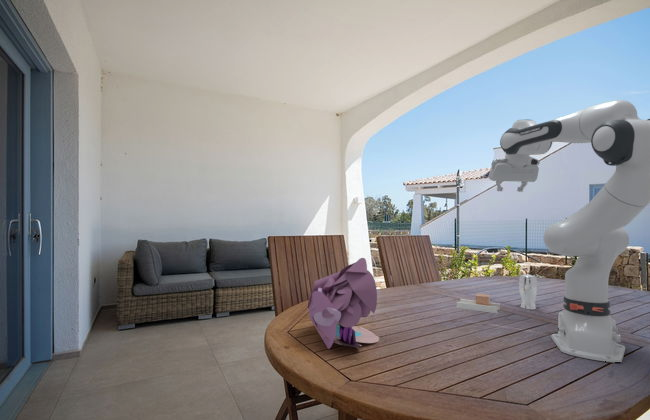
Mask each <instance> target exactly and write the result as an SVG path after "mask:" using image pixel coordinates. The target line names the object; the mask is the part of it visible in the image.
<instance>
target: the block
mask: <svg viewBox="0 0 650 420" xmlns="http://www.w3.org/2000/svg"><path fill="white" fill-rule="evenodd" d="M475 301H476V304H478V305H486V306H490V303H491V294H485V293H477V294H476V295H475Z"/></svg>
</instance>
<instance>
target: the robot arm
mask: <svg viewBox="0 0 650 420" xmlns="http://www.w3.org/2000/svg"><path fill="white" fill-rule="evenodd" d="M499 142H500V143H499V145H500V148H501V149H502V151H503V152H504V153H505V154H504V155H505V156H504V158H496V159H494V160H493V161H492V163H491V167H490V171H489V174H488V179H489V180H490V181H492V182H495V184H496V191H497V192H503V190H504V187H502V186H501V184H502V183H503V182H518V183H519V182H520V186H517V190H516V191H517V192H519V193H523V192H524V189H525V188H526V186H527V185H528V183H534V182H536V181H537V180H538V177H539V171H540V170H539V169H540V168H539V165H540V163H541V160H539V159H537V158H535V157H532V156H531V155H533V156H534V155H535V156H537V155H538V156H539V155H544V154H546V153H548V152H549V150H550V149H551V148H552V145H553V142H556V143H566V144H567V143H569V144H589V143H591V144H590V145H591V147H592V150H593V152H594V153H595V155H596V156H598V157H599V158H601V159H602V160H603V162H604V164H606V165H607V166H610V167H611V166H613V167H615V171H614V173H613V174H612V175H611V177H610V178H609V179H608V180H607V181H606V183H605V184H604V185H603V186H602V187H601V188H600V190H598V192H597V193H596V194H595V196H594V197H593V198H591V200H590V201H589V202H588V203H587V204H585V205H584V206H582V208H580V209H579V210H577V211H576V212H574V213H573V214H571V215H569V216H568V217H566V218H564V219H563V220H560V221H559V222H556V223H553V224H550V225H548V227H546V229H545V231H544V234H543V243H544V246H545V247H546V248H547V250H548V251H549V252H551V253H553V254H556V255H561V256H566V257H578V258H577V260H576V262H575V264H574V265H573V266H572V267H571V268H569V269H567V271H566V272H565V274H564V296H563V300H562V303H563V304H562V306H563V308H564V309H563V310H561V311H560V312H559V313H558V316H557V317H558V318H557V319H558V320H557V321H558V322H557V324H558V325H557V333H552V334H551V336H550V338H551V340H552V341H553V342H554V344H555V345H556V346H557V348H558V349H559V351H560V352H562V353H563V354H567V355H570V356H573V357H577V358H582V359H587V360H591V361H592V360H593V361H598V362H599V361H600V362H605V361H606V363H615V362H621V363H622V362H623V360H624V359H623V358H624V356H625V352H626V346H625V345H623V344H621V343H622V341H621V339H622V337H621V334H620V333H619V327H617V323H616V320H615V319H614V318H613V317H611V309H612V308H611V303H610V301H609V279H610V278H609V277H610V274H611V270H612V267H613V265H614V263H615V262H616V260H617V258H618V257H619V256H620V255H621V254H622V253H623V252H625V250H627V249H628V247H629V244H630V236H629V234H628V231H627V230H626V229H625V228H624V227H626V226H627V225H629V224H630V223H632V221H633V220H634V219H635V218H636V217H638V215H639V214H640V213H641V212H642V211H643V210H644V209H646V207H647V206H648V205H649V204H650V118H647V119H642V118H639V116H638V111H637V109H636V106H635V105H634V104H633V103H632V102H630V101H629V100H625V99H616V100H611V101H605V102H602V103H598V104H595V105H591V106H588V107H586V108H583V109H580V110H577V111H575V112H572V113H569V114H567V115H564V116H561V117H558V118H554V119H552V120H548V121H545V122H541V123H536V121H535V120H533V119H528V118H527V119H518V120H515V121H514V122H513V124H512V126H511V128H508V129H507V130H506V131H505V132H504V133H503V134H502V136H501V138H500V140H499ZM619 343H620V344H619Z"/></svg>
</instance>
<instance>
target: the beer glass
mask: <svg viewBox="0 0 650 420" xmlns="http://www.w3.org/2000/svg"><path fill="white" fill-rule="evenodd" d="M537 277H538V276H537V275H533V274H519V279H518V281H519V282H518V288H519V290H518V291H519V295H520V299H521V301H520V303H521V304H520V308H521V309H526V310H536V309H537V307H536V299H537V293H538V279H537Z"/></svg>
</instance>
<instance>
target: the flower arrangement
mask: <svg viewBox="0 0 650 420" xmlns="http://www.w3.org/2000/svg"><path fill="white" fill-rule="evenodd" d="M377 303H378V291H377V284H376V280H375V278H374V276H373V274H372V273H371V272H370V271H369V270H368V264H367V260H366V258H364V257H360V258H359V259H358V260H357V261H356V262H353V263H351V264H348V265H347V266H345V267H344V268H342V269H341V270H340V271H338V272H334V273H333V274H332V273H331V274H330V275H326V276H324V277H322V278H319V279H317V280H315V281H314V283H313V286H312V290H311V293H310V297H309V299H308V303H307V309H308V314H309V315H308V317H309V319H310V321H311V323H312V324H313V325H314V327H315V329H316V331H317V332H318V335H320V337H321V340H322V341H323V343H324V344H325V346H326V348H327V349H328V350H330V349H331V348H332V345H334V343H335V344H338V345H341V346H345V347H351V348H359V347H362V346H363V345H361V344H360V343H363V344H374V343H378V342H379V341H380V336H377V335H376V334H375V333H374V332H372V331H371V330H369V329H367V328H365V327H362V326H356V325H357V324H358V323H359V322H360V320H361V318H368V316H369V315H370V313H372V314H374V315H375V312H376V309H377Z"/></svg>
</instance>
